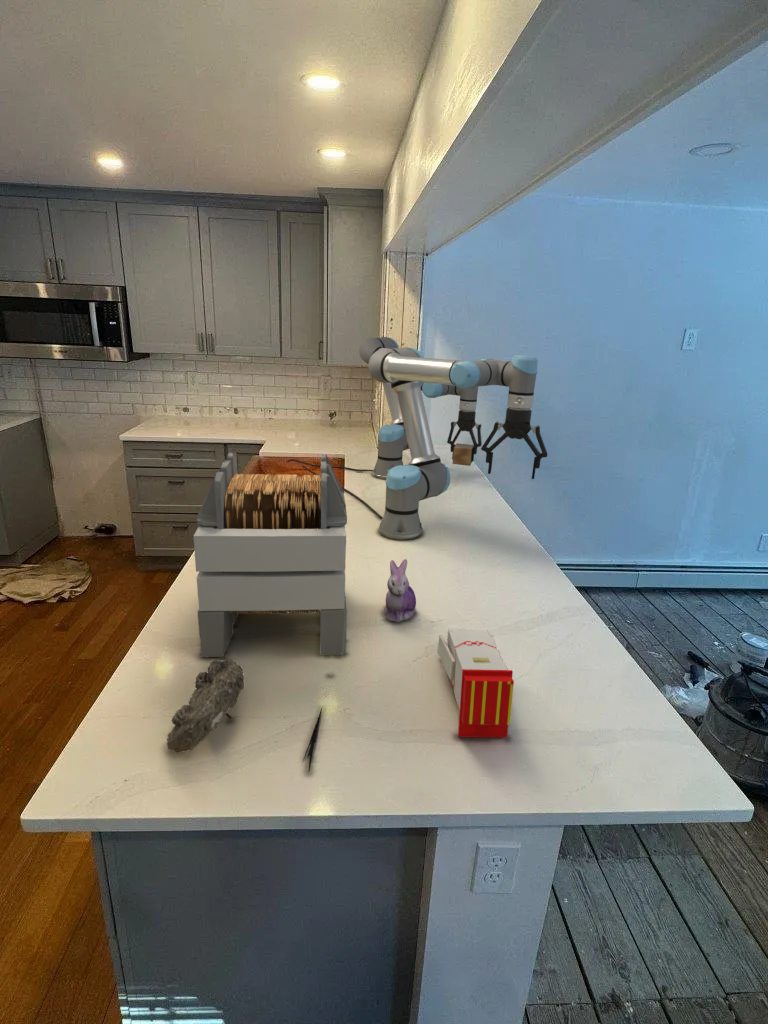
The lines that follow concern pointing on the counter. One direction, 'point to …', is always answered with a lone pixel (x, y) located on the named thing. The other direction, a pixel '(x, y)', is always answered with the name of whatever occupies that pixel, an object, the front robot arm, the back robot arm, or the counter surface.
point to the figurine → (399, 594)
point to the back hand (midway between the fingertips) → (462, 459)
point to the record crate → (271, 552)
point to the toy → (478, 682)
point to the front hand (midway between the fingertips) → (510, 475)
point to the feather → (313, 740)
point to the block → (462, 454)
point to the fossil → (206, 705)
